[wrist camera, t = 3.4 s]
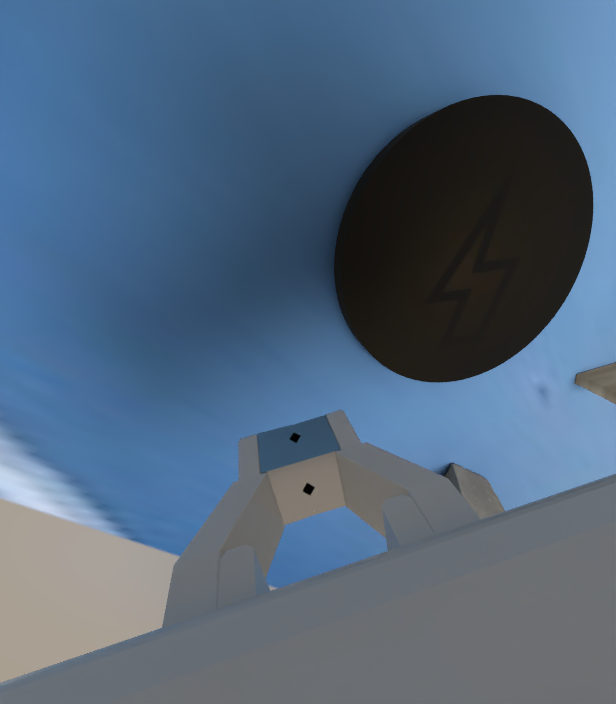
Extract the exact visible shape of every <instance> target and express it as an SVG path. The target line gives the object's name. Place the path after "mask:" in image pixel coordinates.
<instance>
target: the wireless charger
mask: <svg viewBox="0 0 616 704" xmlns="http://www.w3.org/2000/svg"><path fill="white" fill-rule="evenodd" d="M592 220H593V190H592V182H591V176H590V172H589V168H588V165H587V162H586V159H585V156H584V153H583V151H582V149H581V147H580V145H579V143H578V141H577V140H576V138H575V136H574V135H573V134H572V132H571V131H570V129H569V128H568V127H567V126H566V125H565V124H564V122H563V121H561V120H560V119H559V118H558V117H557V116H556V115H555V114H553V113H552V112H551V111H549V110H548V109H546V108H544V107H543V106H541V105H539V104H537V103H535V102H532V101H530V100H527V99H523V98H520V97H514V96H508V95H488V96H480V97H474V98H470V99H467V100H463V101H460V102H457V103H455V104H452V105H449V106H447V107H445V108H443V109H441V110H439V111H437V112H435V113H433V114H431V115H429V116H427V117H425V118H423V119H421V120H419V121H418V122H416V123H414V124H413V125H411V126H410V127H408V128H407V129H405V130H404V131H403V132H401V133H400V134H399V135H398V136H396V137H395V138H394V139H393V140H392V141H391V142H390V143H389V144H388V145H387V146H386V147H385V148H384V149H383V150H382V151H381V152H380V153H379V154H378V155H377V156H376V158H375V159H374V160H373V161H372V163H371V164H370V165H369V167H368V168H367V169H366V171H365V172H364V174H363V175H362V177H361V178H360V180H359V182H358V183H357V185H356V187H355V189H354V191H353V193H352V195H351V197H350V199H349V201H348V204H347V206H346V209H345V211H344V214H343V217H342V221H341V224H340V227H339V232H338V236H337V242H336V248H335V259H334V274H335V285H336V292H337V296H338V301H339V304H340V307H341V311H342V313H343V316H344V318H345V320H346V322H347V324H348V326H349V328H350V329H351V331H352V333H353V334H354V336H355V337H356V338H357V340H358V341H359V342H360V343H361V344H362V345H363V346H364V347H365V349H366V350H367V351H368V352H369V353H370V354H371V355H372V356H373V357H374V358H375V359H376V360H377V361H378V362H380V363H381V364H382V365H384V366H385V367H387V368H388V369H390V370H391V371H393V372H395V373H397V374H399V375H402V376H404V377H407V378H410V379H414V380H419V381H425V382H451V381H457V380H462V379H466V378H470V377H473V376H476V375H479V374H482V373H484V372H486V371H489V370H491V369H493V368H495V367H497V366H498V365H500V364H502V363H504V362H505V361H507V360H508V359H510V358H511V357H513V356H514V355H516V354H517V353H518V352H520V351H521V350H522V349H523V348H525V347H526V346H527V345H528V344H529V343H530V342H531V341H532V340H534V339H535V338H536V337H537V335H538V334H539V333H540V332H541V331H542V330H543V329H544V328H545V327H546V326H547V325H548V323H549V322H550V321H551V320H552V318H553V317H554V316H555V314H556V313H557V312H558V310H559V309H560V307H561V306H562V304H563V303H564V301H565V299H566V298H567V296H568V294H569V292H570V291H571V289H572V287H573V285H574V283H575V281H576V278H577V276H578V274H579V272H580V269H581V266H582V264H583V261H584V258H585V255H586V251H587V247H588V243H589V239H590V234H591V228H592Z"/></svg>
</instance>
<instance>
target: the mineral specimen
mask: <svg viewBox="0 0 616 704" xmlns="http://www.w3.org/2000/svg"><path fill="white" fill-rule="evenodd" d="M444 477H446V478H448V479H449V480H450V481H451V483H452V484H453V485H454V486H455V488H456V489H457V490H458V491H459V493H460V494H461V495H462V496H463V498H464V499H465V500H466V501H467V502H468V504H469V505H470V506H471V507H472V509H473V510H474V511H475V512H476V514H477V515H478V516H479V517H480V519H484V518H487V517H490V516H493V515H496V514H499V513H502V512H505V510H504V508H503V506H502V505H501V503H500V501H499V499H498V497H497V495H496V494H495V493H494V491H493V489H492V487H491V485H490V483H489V482H488V480H487V479H485V478H484V477H482V476H481V475H478V474H476V473H473V472H471V471H470V470H467V469H464V468H463V467H461V466H459V465H456V464H451V466H450V468H449V470H448V472H447V473H446V475H445V476H444Z"/></svg>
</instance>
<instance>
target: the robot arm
mask: <svg viewBox="0 0 616 704" xmlns="http://www.w3.org/2000/svg"><path fill="white" fill-rule="evenodd" d="M238 447H239V481H236V482H233V484H232V485H231V486H230V488H229V489H228V491H227V492H226V493H225V495H224V496H223V497H222V499H221V500H220V502H219V503H218V504H217V506H216V507H215V509H214V510H213V511H212V513H211V514H210V516H209V517H208V518H207V520H206V521H205V523H204V524H203V525H202V527H201V528H200V530H199V531H198V532H197V534H196V535H195V537H194V538H193V539H192V541H191V542H190V544H189V545H188V546H187V548H186V549H185V551H184V552H183V553H182V555H181V556H180V558H179V559H178V560H177V562H176V563H175V565H174V567H173V572H172V577H171V583H170V588H169V593H168V599H167V604H166V610H165V615H164V620H163V626H162V628H160V629H158V630H154V631H151V632H149V633H146V634H143V635H140V636H137V637H134V638H131V639H128V640H125V641H122V642H119V643H116V644H113V645H110V646H107V647H105V648H101V649H98V650H96V651H93V652H90V653H87V654H84V655H81V656H78V657H75V658H72V659H69V660H66V661H63V662H60V663H57V664H54V665H52V666H48V667H46V668H43V669H40V670H37V671H34V672H31V673H28V674H25V675H22V676H19V677H16V678H13V679H11V680H7V681H4V682H2V683H0V704H616V474H614V475H611V476H608V477H605V478H602V479H599V480H596V481H593V482H590V483H587V484H584V485H581V486H578V487H575V488H572V489H569V490H566V491H564V492H561V493H558V494H555V495H552V496H549V497H546V498H543V499H540V500H537V501H534V502H531V503H528V504H525V505H522V506H519V507H516V508H513V509H510V510H508V511H505V512H502V513H499V514H496V515H493V516H490V517H487V518H484V519H480V517H479V516H478V515H477V514H476V512H475V511H474V510H473V509H472V507H471V506H470V505H469V504H468V502H467V501H466V500H465V499H464V498H463V496H462V495H461V494H460V493H459V491H458V490H457V489H456V488H455V486H454V485H453V484H452V483H451V481H450V480H449V479H448V478H446V477H444V476H442V475H439V474H437V473H435V472H432V471H430V470H428V469H426V468H423V467H421V466H419V465H417V464H414V463H412V462H410V461H408V460H405V459H403V458H401V457H399V456H396V455H394V454H392V453H390V452H387V451H385V450H383V449H380V448H378V447H376V446H374V445H371V444H369V443H367V442H366V443H363V444H361V442H360V440H359V438H358V436H357V435H356V433H355V431H354V429H353V427H352V426H351V424H350V422H349V420H348V418H347V417H346V415H345V413H344V411H343V410H338V411H335V412H332V413H329V414H325V415H324V416H320V417H317V418H314V419H310V420H307V421H304V422H300V423H297V424H294V425H289V426H285V427H281V428H277V429H273V430H270V431H266V432H262V433H258V435H257V434H255V435H251V436H248V437H244V438H241V439H240V440H239V442H238ZM343 506H347V508H349V509H350V510H351V511H352V512H354V513H355V514H356V515H357V516H359V517H360V518H361V519H362V520H364V521H365V522H366V523H367V524H369V525H370V526H371V527H372V528H374V529H375V530H376V531H377V532H379V533H380V534H381V535H382V536H384V537H385V538H386V542H387V549H388V551H387V552H384V553H381V554H378V555H375V556H372V557H369V558H366V559H363V560H360V561H357V562H354V563H351V564H349V565H346V566H343V567H340V568H337V569H334V570H331V571H328V572H325V573H322V574H319V575H316V576H313V577H310V578H307V579H304V580H301V581H299V582H296V583H293V584H290V585H287V586H284V587H281V588H278V589H275V590H272V591H270V589H269V587H268V584H267V581H266V579H265V578H266V576H267V573H268V570H269V568H270V565H271V562H272V560H273V557H274V554H275V552H276V549H277V546H278V544H279V541H280V538H281V535H282V533H283V530H284V525H286V524H289V523H292V522H295V521H298V520H301V519H304V518H306V517H309V516H312V515H315V514H318V513H322V512H325V511H329V510H332V509H336V508H339V507H343ZM314 511H315V512H314Z"/></svg>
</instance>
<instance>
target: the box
mask: <svg viewBox="0 0 616 704" xmlns="http://www.w3.org/2000/svg"><path fill="white" fill-rule="evenodd" d="M575 384H577V385H579V386H581V387H583V388H585V389H587V390H589V391H591V392H593V393H595V394H597V395H599V396H601V397H603V398H605V399H607V400H609V401H610V402H612V403H614V404H616V363H613V364H610V365H606V366H603V367H599V368H596V369H593V370H589V371H586V372H582V373H579V374H577V376H576V381H575Z"/></svg>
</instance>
